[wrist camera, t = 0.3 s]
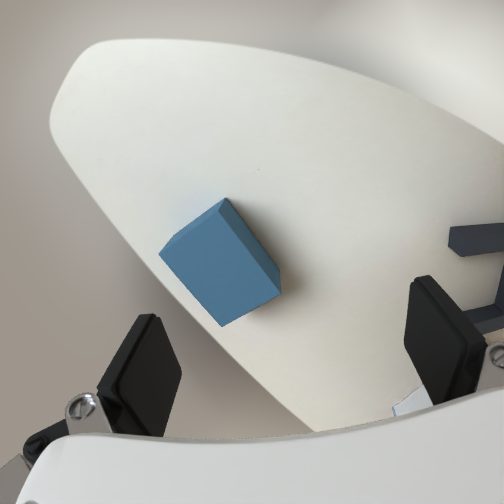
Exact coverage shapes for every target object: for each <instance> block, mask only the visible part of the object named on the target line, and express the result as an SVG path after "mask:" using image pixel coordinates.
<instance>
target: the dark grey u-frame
mask: <svg viewBox="0 0 504 504" xmlns="http://www.w3.org/2000/svg"><path fill="white" fill-rule="evenodd" d="M448 247H449V248H450V249H452V250H453V251H454V252H456V253H457V254H458V255H459V256H460V257H465V256H472V255H480V254H487V253H494V252H501V251H504V223H494V224H481V225H468V226H455V227H450V234H449V243H448ZM463 313H464V314H465V315H466V316H467V317H468V318H469V320H470V321H471V322H472V323H473V324H474V326H475V327H476V328H477V329H478V331H479V332H480V333H481V334H486V333H489V332H492V331H496V330H499V329H502V328H504V267H503V271H502V276H501V280H500V284H499V288H498V292H497V295H496V299H495V303H494V304H492V305H488V306H485V307H480V308H476V309H472V310H468V311H463Z"/></svg>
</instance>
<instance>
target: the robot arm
mask: <svg viewBox="0 0 504 504" xmlns="http://www.w3.org/2000/svg"><path fill="white" fill-rule="evenodd" d="M404 346H405V349H406V351H407V353H408V354H409V356H410V358H411V360H412V362H413V364H414V366H415V368H416V370H417V372H418V374H419V376H420V378H421V381H422V383H423V385H424V387H425V389H426V391H427V393H428V395H429V397H430V400H431V402H432V404H433V406H432V407H428V408H425V409H421V410H418V411H414V412H411V413H407V414H403V415H400V416H396V417H392V418H388V419H384V420H379V421H375V422H370V423H366V424H361V425H356V426H351V427H345V428H339V429H333V430H327V431H320V432H313V433H306V434H297V435H288V436H276V437H264V438H245V439H244V438H243V439H184V438H167V437H163V435H164V432H165V428H166V425H167V422H168V419H169V415H170V412H171V409H172V405H173V402H174V398H175V396H176V392H177V389H178V386H179V383H180V380H181V375H182V371H181V367H180V365H179V363H178V360H177V358H176V356H175V353H174V351H173V348H172V346H171V343H170V341H169V339H168V336H167V334H166V331H165V329H164V326H163V323H162V321H161V319H160V317H156V315H155V314H141V315H139V316H138V318H137V319H136V321H135V322H134V324H133V326H132V327H131V329H130V331H129V332H128V334H127V336H126V338H125V339H124V341H123V343H122V344H121V346H120V348H119V349H118V351H117V353H116V354H115V356H114V358H113V360H112V361H111V363H110V365H109V367H108V368H107V370H106V372H105V373H104V375H103V377H102V379H101V381H100V383H99V384H98V386H97V389H98V392H97V394H96V395H95V394H93V393H82V394H79V395H77V396H75V397H74V398H73V399H71V400H70V401H69V403H68V404H67V406H66V408H65V419H63V420H61V421H60V422H58V423H56V424H54V425H52V426H50V427H48V428H46V429H44V430H42V431H40V432H38V433H36V434H34V435H32V436H30V437H29V438H28V439H27V441H26V442H25V444H24V447H23V455H21V454H18V455H16V456H15V457H14V458H13V459H12V460H10V461H9V462H8V463H7V464H6V465H4V466H3V467H2V468H1V469H0V504H504V342H501V341H499V342H494V343H492V344H490V345H488V344H487V343H486V342H485V338H484V337H483V336H482V334H481V333H480V332H479V331H478V329H477V328H476V327H475V326H474V324H473V323H472V322H471V321H470V320H469V318H468V317H467V316H466V315H465V314H464V313H463V311H462V310H461V309H460V308H459V307H458V306H457V304H456V303H455V302H454V301H453V300H452V299H451V298H450V296H449V295H448V294H447V293H446V292H445V291H444V290H443V289H442V288H441V286H440V285H439V284H438V283H437V282H436V281H435V280H434V279H433V278H432V277H431V276H430V275H426V276H421V277H416V278H415V279H414V282H412V283H411V284H410V292H409V302H408V311H407V320H406V328H405V335H404Z"/></svg>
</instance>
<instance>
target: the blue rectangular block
mask: <svg viewBox="0 0 504 504" xmlns="http://www.w3.org/2000/svg"><path fill="white" fill-rule="evenodd" d="M159 256H160V257H161V258H162V259H163V260H164V262H165V263H166V264H167V265H168V266H169V268H170V269H171V270H172V271H173V272H174V274H175V275H176V276H177V277H178V278H179V279H180V281H181V282H182V283H183V284H184V285H185V286H186V288H187V289H188V290H189V291H190V292H191V293H192V295H193V296H194V297H195V298H196V299H197V300H198V301H199V303H200V304H201V305H202V306H203V307H204V308H205V309H206V310H207V311H208V313H209V314H210V315H211V316H212V317H213V318H214V319H215V320H216V321H217V323H218V324H219V325H220V326H221V327H223V326H225V325H226V324H228V323H230V322H232V321H234V320H235V319H237V318H239V317H241V316H243V315H244V314H246V313H248V312H250V311H252V310H253V309H255V308H257V307H259V306H260V305H262V304H264V303H266V302H267V301H269V300H271V299H273V298H274V297H276V296H278V295H280V294H281V284H280V271H279V269H278V267H277V266H276V264H275V263H274V262H273V260H272V259H271V258H270V256H269V255H268V254H267V252H266V251H265V250H264V248H263V247H262V246H261V244H260V243H259V241H258V240H257V239H256V237H255V236H254V235H253V233H252V232H251V231H250V229H249V228H248V227H247V225H246V224H245V223H244V221H243V220H242V219H241V217H240V216H239V215H238V213H237V212H236V211H235V209H234V208H233V207H232V205H231V204H230V203H229V201H228V200H227V199H226V198H224V199H223V200H221V201H220V202H218V203H217V204H216V205H214V206H213V207H211V208H210V209H209V210H207V211H206V212H205V213H203V214H202V215H200V216H199V217H198V218H196V219H195V220H194V221H192V222H191V223H190V224H188V225H187V226H186V227H184V228H183V229H182V230H180V231H179V232H178V233H176V234H175V235H174V236H173V237H172V238H171V239H170V240H169V242H168V243H167V244H166V245H165V247H164V248H163V249H162V250H161V251H160V253H159Z"/></svg>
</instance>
